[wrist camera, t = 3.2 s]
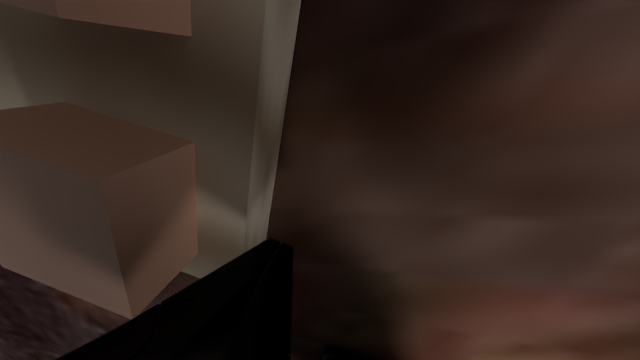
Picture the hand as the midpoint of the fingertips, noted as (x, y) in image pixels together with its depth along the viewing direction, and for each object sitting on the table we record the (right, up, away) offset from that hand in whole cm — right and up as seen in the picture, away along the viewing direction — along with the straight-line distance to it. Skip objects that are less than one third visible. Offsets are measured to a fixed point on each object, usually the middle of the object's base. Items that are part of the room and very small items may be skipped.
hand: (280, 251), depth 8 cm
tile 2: (-6, +2, +1) cm, 6 cm away
